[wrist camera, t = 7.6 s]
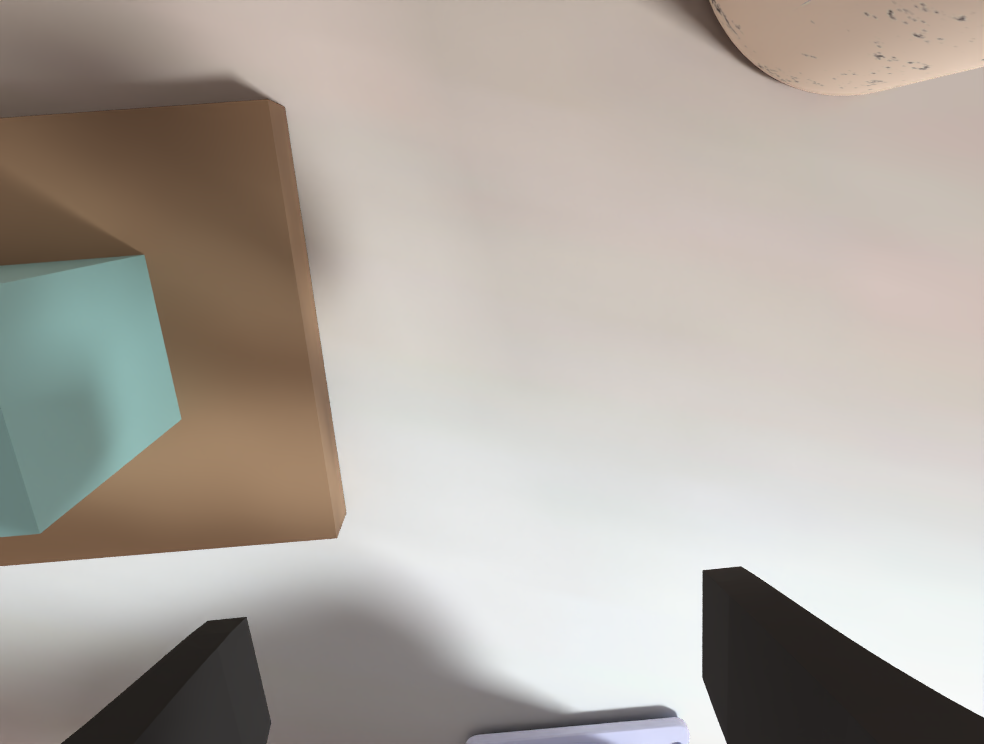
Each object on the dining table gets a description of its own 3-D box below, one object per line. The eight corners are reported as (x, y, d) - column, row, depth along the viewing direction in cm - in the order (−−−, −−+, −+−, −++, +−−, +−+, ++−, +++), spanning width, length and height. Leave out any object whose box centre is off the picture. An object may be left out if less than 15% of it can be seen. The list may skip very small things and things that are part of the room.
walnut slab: (346, 513, 20) (337, 538, 19) (-36, 544, 20) (-75, 572, 18) (285, 107, 17) (267, 99, 15) (-177, 139, 16) (-239, 134, 15)
